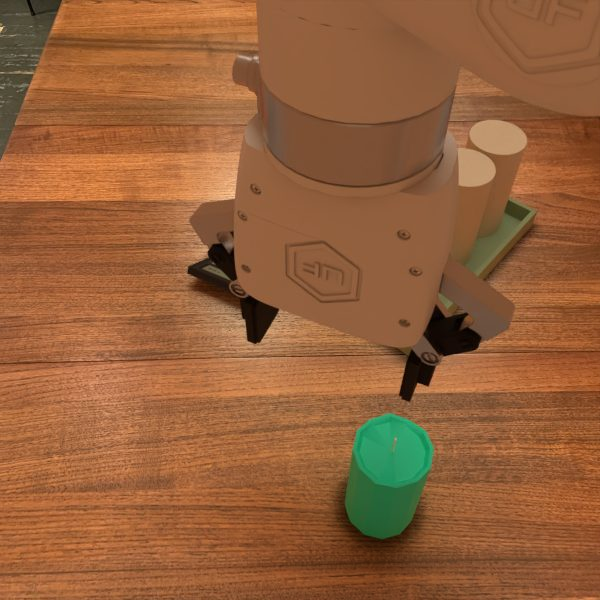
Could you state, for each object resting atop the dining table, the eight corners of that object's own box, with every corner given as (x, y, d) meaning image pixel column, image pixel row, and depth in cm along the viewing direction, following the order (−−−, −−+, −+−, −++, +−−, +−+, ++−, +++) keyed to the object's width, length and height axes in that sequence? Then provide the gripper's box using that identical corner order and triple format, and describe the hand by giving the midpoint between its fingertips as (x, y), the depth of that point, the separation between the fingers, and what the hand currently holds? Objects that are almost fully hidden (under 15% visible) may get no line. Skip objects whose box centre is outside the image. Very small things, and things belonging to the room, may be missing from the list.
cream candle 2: (509, 218, 78) (537, 134, 69) (483, 245, 75) (509, 162, 66) (465, 195, 81) (487, 112, 71) (439, 221, 78) (458, 138, 69)
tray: (531, 226, 78) (537, 210, 76) (412, 358, 66) (415, 344, 64) (451, 185, 83) (455, 169, 81) (326, 302, 71) (326, 287, 69)
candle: (428, 516, 56) (454, 452, 46) (369, 552, 54) (385, 493, 44) (387, 460, 59) (405, 389, 50) (331, 491, 57) (338, 425, 48)
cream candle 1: (480, 247, 75) (507, 164, 66) (452, 277, 72) (476, 195, 63) (436, 223, 78) (455, 140, 68) (407, 251, 75) (423, 168, 65)
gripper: (120, 106, 26) (179, 350, 40) (556, 231, 22) (458, 460, 35) (211, 20, 31) (237, 267, 44) (590, 111, 26) (492, 354, 39)
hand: (335, 352), depth 39 cm, fingers open, 9 cm apart
